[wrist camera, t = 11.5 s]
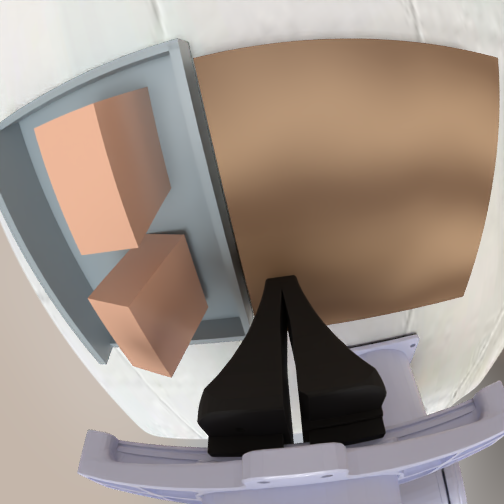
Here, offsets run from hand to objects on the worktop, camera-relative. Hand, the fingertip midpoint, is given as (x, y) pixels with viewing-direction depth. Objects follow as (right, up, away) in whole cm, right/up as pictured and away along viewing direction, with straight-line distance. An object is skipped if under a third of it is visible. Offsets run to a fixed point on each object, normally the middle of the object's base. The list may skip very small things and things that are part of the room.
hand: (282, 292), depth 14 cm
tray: (-8, +4, +1) cm, 9 cm away
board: (+4, +5, 0) cm, 7 cm away
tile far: (-5, -1, 0) cm, 5 cm away
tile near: (-6, +5, -4) cm, 9 cm away
